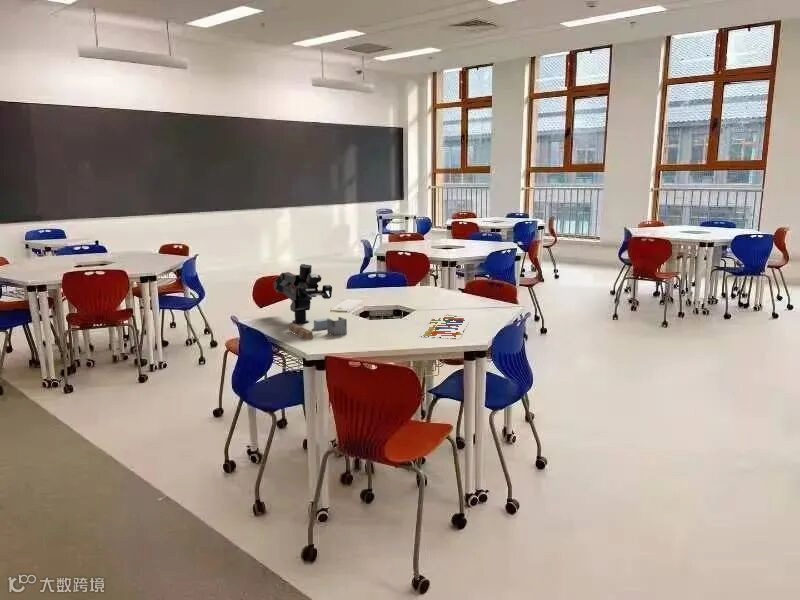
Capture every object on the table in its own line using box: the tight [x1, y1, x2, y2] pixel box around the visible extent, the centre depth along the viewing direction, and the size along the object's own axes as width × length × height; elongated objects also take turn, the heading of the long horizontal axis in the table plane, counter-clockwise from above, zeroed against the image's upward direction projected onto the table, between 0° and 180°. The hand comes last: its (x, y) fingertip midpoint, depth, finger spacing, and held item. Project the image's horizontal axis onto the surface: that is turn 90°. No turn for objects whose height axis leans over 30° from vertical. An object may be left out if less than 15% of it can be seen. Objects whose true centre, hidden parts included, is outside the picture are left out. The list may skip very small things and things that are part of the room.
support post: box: [313, 317, 333, 330], centre depth 292 cm, size 4×8×4 cm, turn 125°
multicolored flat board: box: [423, 313, 465, 337], centre depth 295 cm, size 45×2×19 cm
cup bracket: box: [326, 316, 348, 337], centre depth 281 cm, size 6×7×7 cm
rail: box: [289, 323, 313, 340], centre depth 279 cm, size 18×3×4 cm, turn 35°
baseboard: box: [329, 298, 364, 313], centre depth 343 cm, size 31×3×12 cm
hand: (320, 298), depth 280 cm, fingers open, 9 cm apart
